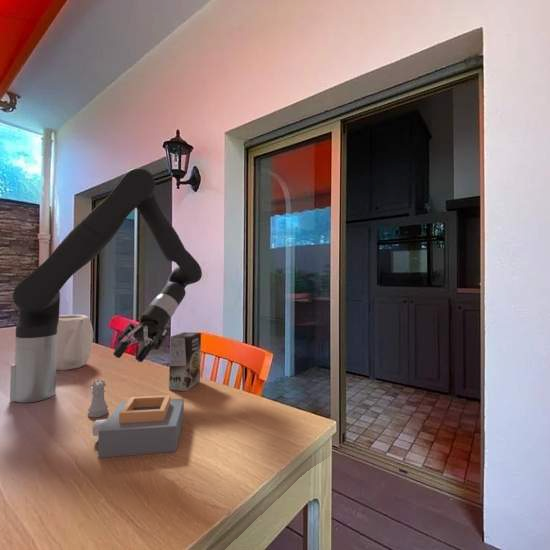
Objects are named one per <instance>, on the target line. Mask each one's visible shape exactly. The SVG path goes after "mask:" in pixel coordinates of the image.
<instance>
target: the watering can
mask: <svg viewBox="0 0 550 550" xmlns="http://www.w3.org/2000/svg"><path fill="white" fill-rule="evenodd" d="M93 329H94V328H93V325H92V322H91V319H90V317H89V316H87V315H85V314H59V322H58V326H57V351H56V371H67V370H69V371H70V370H72V369H79V368H81V367H83V366H85V365H87V364H88V361H89V358H90V355H91V352H92V348H93V342H94V340H93V339H94V330H93Z"/></svg>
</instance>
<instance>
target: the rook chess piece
mask: <svg viewBox="0 0 550 550" xmlns="http://www.w3.org/2000/svg"><path fill="white" fill-rule="evenodd" d="M106 386H107V384H106V383H105V380H103V379H101V380H99V379H98V380H96V381H95V380H94V381H92V385H91V386H90V388H91V389H92V392H91V393H92V397H91V403H90V405H89V407H88V409H87V411H88V412H87V416H88V417H90V418H93V419H95V418H99V417H103V416H106V415H107V413H108V412H109V409H108V407H109V406H108V404H107V402H106V400H105V392H106V390H105V387H106Z"/></svg>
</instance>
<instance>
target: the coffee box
mask: <svg viewBox="0 0 550 550" xmlns="http://www.w3.org/2000/svg"><path fill="white" fill-rule="evenodd" d="M201 343H202V333H201V332H181V333H178V334H175V335H172V336H170V341H169V369H168V370H169V371H168V372H169V375H168V376H169V377H168V390H172V391H173V390H174V391H181V392H188V391H189V390H191V389H192V388H194V387H195V386H196V385H198V384H199V383H200V382H201V359H202V358H201V354H202V353H201V352H202V350H201V348H202V344H201ZM197 383H198V384H197ZM193 386H194V387H193Z"/></svg>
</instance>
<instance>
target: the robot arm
mask: <svg viewBox="0 0 550 550" xmlns="http://www.w3.org/2000/svg"><path fill="white" fill-rule="evenodd" d="M155 190H156V180H155V178H154V176H153V174H152V173H151V172H150V171H149V170H147V169H145V168H139V167H138V168H137V167H136V168H133V169H130V170H128V171H127V172H126V173H125V174H124V176H122V178H121V180H120V181H119V182H118V183H117V185H116V186H115V187H114V189H113V190H112V191H111V193H110V194H109V195H108V196H107V197H106V198H105V199H103V201H102V202H100V203H99V204H98V205H97V206H95V207H94V208H93V209H91V211H90V212H89V213H88V214H87V215H86V216H84V217H83V218H82V219H81V221H79V222H78V223H77V224H76V226H75V227H73V229H72V230H71V231H70V232H69V233H68V234H67V235H66V237H64V238H63V240H62V241H61V242H60V243H59V245H57V247H56V248H55V249H54V250H53V252H52V253H51V254H50V256H49V257H47V258H46V260H44V261H43V262H42V263H41V264H40V265H39V266H37V268H36V269H35V270H33V271H32V272H31V273H30V274H28V275H27V276H25V278H23V279H22V280H21V281H19V283H18V284H16V286H15V288H14V289H13V293H12V301H13V303H14V305H15V307H17V308H18V309H20V311H19V319H18V322H17V325H16V326H15V339H14V342H15V343H14V352H15V353H14V364H12V365H11V366H10V382H9V383H10V385H9V387H10V388H9V389H10V391H9V402H16V403H19V404H23V403H33V402H35V403H36V402H39V401H40V402H41V401H44V400H47V399H49V398H52V397H54V396H55V395H56V393H57V392H56V389H57V383H56V382H57V370H56V351H57V326H58V322H59V315H60V305H61V304H60V303H61V294H60V290H61V289H62V288H63V287H64V286H65V285H66V283H67V282H68V280H70V278H71V277H73V275H74V274H75V273H77V272H78V271H79V270H80V269H82V268H83V267H85V266H86V265H87V264H88V263H90V262H91V261H92V260H93V259H94V258H95V257H97V256H98V255H99V254H100V253H101V252H102V251H103V249H104V248H105V247H106V246H107V245H108V244H109V243H110V241H111V240H112V239H113V238H114V237H115V235H116V234H117V232H118V231H119V230H120V229H121V227H122V225H123V223H124V222H125V221H126V219H127V217H128V216H129V215H130V214H131V213H132V212H133V211H134V210H135V209H137V210H138V212H139V213H140V215H141V216H142V218H143V220H144V221H145V223H146V225H147V227H148V228H149V230H150V232H151V233H152V236H153V238H154V239H155V241H156V243H157V246H158V247H159V249H160V251H161V252H162V254H163V256H164V258H165V259H166V260H167V262H174V263H176V265H177V266H176V268H174V269H173V270H172V272H171V273H170V274H169V277H168V279H167V281H166V282H165V285H164V287H162V289H161V290H160V292H159V293H158V295H156V297H154V299H152V301H151V302H150V303H149V305H148V306H147V308H146V309H145V310H144V312H143V313H142V314H141V316H140V319H139V320H140V322H139V323H138V324H137V325H134V323H132V322H131V323H129V324H128V325H127V327H126V328H125V329H123V331H122V333H120V335H119V336H118V337H117V341H118V342H120V343H119V345H117V347H116V349H115V350H114V352H113V356H114V357H115V358H117V359H120V358H121V357H122V356H123V354H124V353H125V352H126V350H127V349H128V348H129V346H131V345H132V344H136V343H138V342H143V343H144V346H142V347H141V348H140V350H139V351H138V353H137V354H136V355H135V360H136V361H137V362H139V363H142V362H143V361H144V360H145V359H146V357H147V356H148V355H149V353H150V352H151V351H153V350H159V349H160V347H161V346H162V344H163V343H164V341H165V339H166V337H167V336H168V333H169V332H168V330H166V328H165V327H167V325H168V323H169V322H170V320H171V319H172V318H173V316H174V315H175V313H176V311H177V309H178V307H179V306H180V304H181V303H182V301H183V299H185V296H186V294H187V293H186V287H187V286H189V285H191V284H192V285H193V284H196V283H197V282H199V281H200V280H201V279H202V276H203V271H202V268H201V266H200V264H199V263H198V261H197V260H196V259H195V258H194V256H192V254H191V253H190V252H189V251H188V250H187V249H186V247H185V245H184V243H183V242H182V240H181V238H180V237H179V236H180V235H178V233H177V231H176V229H175V228H174V227H173V225H172V224H171V223H170V221H169V220H168V218H167V217H166V215H165V214H164V213H163V211H162V209H161V207H160V205H159V203H158V201H157V200H158V199H157V198H156V195H155Z"/></svg>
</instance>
